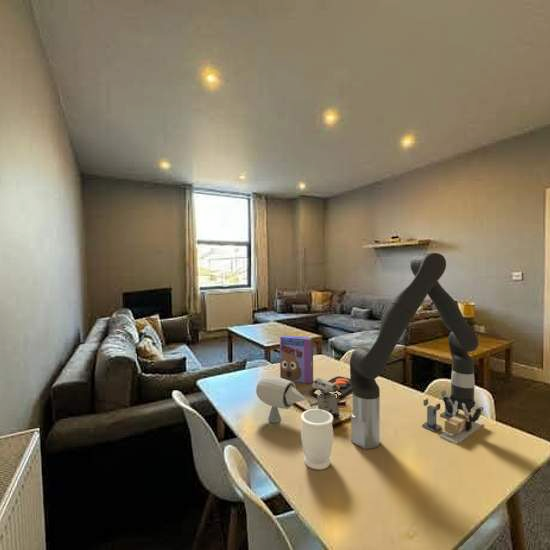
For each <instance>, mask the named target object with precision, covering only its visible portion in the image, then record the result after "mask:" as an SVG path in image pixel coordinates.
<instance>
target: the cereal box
mask: <svg viewBox="0 0 550 550" xmlns="http://www.w3.org/2000/svg"><path fill="white" fill-rule="evenodd" d="M279 363H280V364H279V367H280V368H279V369H280V370H279V378H283V379H286V380H289V381H291V382H294V383H300V384H307V385H312V384H313V382H314V337H308V336H295V335H285V334H284V335H281V336H280V337H279Z"/></svg>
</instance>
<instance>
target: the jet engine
mask: <svg viewBox="0 0 550 550" xmlns="http://www.w3.org/2000/svg"><path fill="white" fill-rule="evenodd" d="M255 390H256V392H255V393H256V396H257V398H258V399H259V400H260V401H261V402H263V403H264V404H265V405H268V406H270V407H271V408H270V411H269V414H268V417H267V421H268V422H270V423H279V422H281V421H282V417H281V415H280V411H279V409H282V410H283V409H284V410H289V409H291V407H293V405H294V404H296V403H298V402H302V401H303V400H306V398H305V397H304V396H303V395H302V394H301V393H300V392H299V391H298V390H297V386H296V384H295V382H292V381H289V380H286V379H283V378H280V376H264V377H262V378H261V379H260V380H259V381H258V382H257V385H256V389H255Z"/></svg>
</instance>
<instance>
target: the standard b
mask: <svg viewBox="0 0 550 550" xmlns="http://www.w3.org/2000/svg"><path fill="white" fill-rule="evenodd" d="M445 396H447V390H442V391H441V397H442V398H443V397H445ZM451 404H452V407H454V404H453V402H452V401H451ZM439 416H440V418H441V417H442V418H443V419H447V420H449V419H450V418H452V417H453V416H452V414H451V413H448V412H447V409H446V406H445V405H444V412H442V413H440V414H439Z"/></svg>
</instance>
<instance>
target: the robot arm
mask: <svg viewBox="0 0 550 550" xmlns="http://www.w3.org/2000/svg"><path fill="white" fill-rule="evenodd" d="M446 268H447V261H446V258H445V256H444V255H442V254H441V253H439V252H428V253H426V252H425V253H421V254H417V255H415V256H414V257H412V259H411V261H410V270H411V272H412V274H413V276H414V278H413V279H412V280H411V281H410V283H409V284H408V285H407V286H406V287H404V288H403V289H402V290H400V291H399V292H398V293H397V294H396V295H395V296H394V297H393V298H392V299H391V300H390V301H389V303H388V305H387V306H386V308H385V309H384V311H383V313H382V315H381V319H380V325H379V332H378V335H377V338H376V339H375V341H374V343H373V344H372V345H371V348H367V347H365V346H361V347H357V348H355V349H354V350H353V351H352V353H351V355H350V358H349V359H350V360H349V372H350V378H349V379H351V385H352V388H353V389H352V393H353V394H352V415H350V441H351V442H352V443H353V444H354V445H357V446H358V447H360V448H362V449H363V450H368V449H376V448H377V447H379V445H380V440H381V438H380V434H381V431H380V430H381V429H380V428H381V427H380V426H381V425H380V423H381V422H380V421H381V420H380V417H381V416H380V414H381V411H380V407H381V403H380V402H381V399H380V397H381V396H380V394H381V392H380V391H381V390H380V387H379V385H378V383H377V381H376V379H377V378H378V377H379V376H380V375H382V373H383V372H384V370H385V368H386V366H387V364H388V363H389V360H390V357H391V355H392V353H393V351H394V350H395V348H396V346H397V344H398V343H399V341H400V340H401V337H402V336H403V334H404V332H405V331H406V329H407V328H408V326H409V325H410V323H411V322H412V321H413V318H414V317H415V315H416V313H417V312H418V310H419V308H420V307H421V305H422V304H423V302H424V301H425V299H426V297H427V296H428V298H429V299H430V300H431V302H432V303H433V305H434V306H435V309H436V310H437V313H438V316H439V317H440V319H441V321H442V323H443V325H444V326H445V327H446V328H447V329H448V330H450V331H451V332H450V333H449V334H448V338H447V340H448V342H447V343H448V346H449V347H448V348H449V352H450V356H451V360H452V361H451V376H450V378H451V380H450V381H451V382H450V393H451V394H450V395H446V396H444V397H442V401H443V403H444V407H445V406H446V409H447V412H448V413H451V414H452V416H453V417H454V416H455V415H457V414H458V413H460V410H461V412H462V411H464V415H465V416H466V429H465V430H466V431H469V430H471V428H472V422H475V421H479V418H480V416H481V415H482V414H483V413H482V412H483V411H484V407H482V406H478V405H477V404H476V401H475V386H476V385H475V384H476V383H475V373H474V372H475V371H474V370H475V361H474V358H473V357H472V356H471V355H470V353H469V352H474V351H476V350H477V348H478V347H479V338H478V336H477V334H476V333H475V330H473V328H472V327H471V326H470V324H469V323H468V322H467V321H466V320H465V317H464V315H463V313H462V311H461V309H460V308H459V305H458V304H457V302H456V300H455V299H454V298H453V297H452V296H451V295H450V294H449V293H448V292H447V291H446V290H445V289H444V288H443V287H442V285H441V283H440V282H439V280H440V279H441V277H442V276H443V274H444V273H445V271H446ZM451 401H452V402H453V404H454V407H452V404H451ZM472 408H473V409H474V410H475V414H474V416H473V417H472V410H471V409H472Z"/></svg>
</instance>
